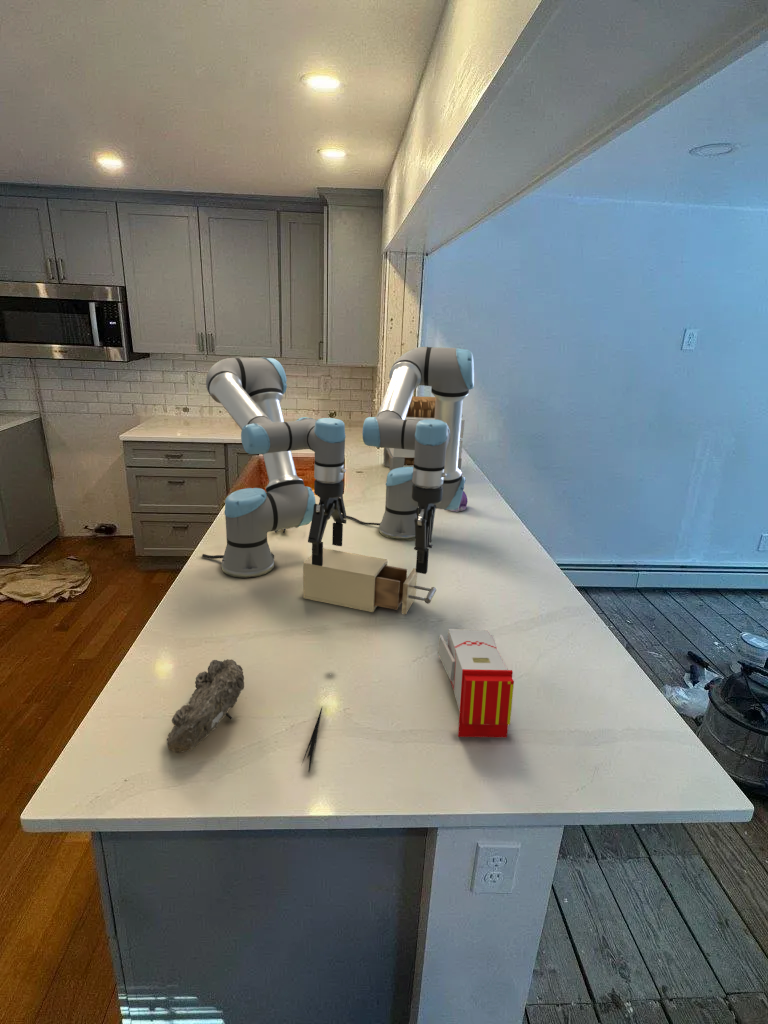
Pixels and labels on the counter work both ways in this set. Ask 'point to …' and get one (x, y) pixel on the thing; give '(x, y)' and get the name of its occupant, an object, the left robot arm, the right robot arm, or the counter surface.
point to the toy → (478, 682)
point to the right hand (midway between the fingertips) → (421, 572)
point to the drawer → (398, 589)
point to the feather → (313, 740)
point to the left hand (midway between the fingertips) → (327, 554)
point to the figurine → (462, 502)
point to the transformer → (417, 411)
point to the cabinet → (342, 579)
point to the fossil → (206, 705)
